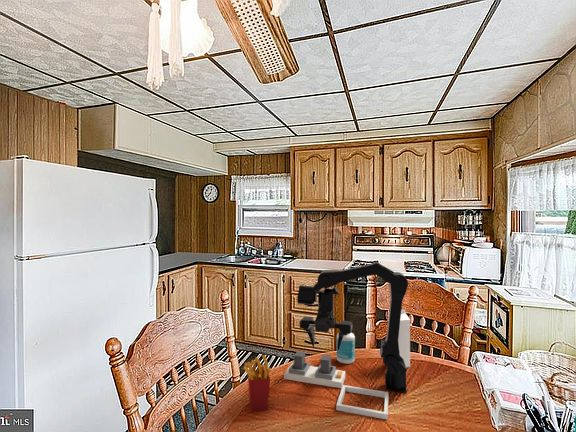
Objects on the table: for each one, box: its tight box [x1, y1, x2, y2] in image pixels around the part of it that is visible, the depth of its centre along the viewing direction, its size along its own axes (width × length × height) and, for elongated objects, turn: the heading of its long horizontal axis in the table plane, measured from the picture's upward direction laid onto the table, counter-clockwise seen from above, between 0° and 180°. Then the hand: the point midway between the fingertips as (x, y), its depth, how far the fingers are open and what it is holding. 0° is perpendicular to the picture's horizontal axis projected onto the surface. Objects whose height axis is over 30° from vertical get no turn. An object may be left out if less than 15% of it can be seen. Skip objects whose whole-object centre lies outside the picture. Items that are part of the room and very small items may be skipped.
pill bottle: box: [336, 332, 356, 365], centre depth 136 cm, size 8×7×14 cm
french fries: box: [243, 354, 272, 413], centre depth 103 cm, size 9×8×15 cm
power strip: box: [283, 361, 346, 389], centre depth 121 cm, size 21×9×4 cm, turn 72°
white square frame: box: [335, 384, 389, 420], centre depth 104 cm, size 15×13×2 cm
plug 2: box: [320, 354, 332, 374], centre depth 120 cm, size 3×4×6 cm, turn 162°
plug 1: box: [293, 350, 306, 370], centre depth 123 cm, size 3×4×6 cm, turn 162°
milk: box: [398, 309, 411, 369], centre depth 132 cm, size 6×6×22 cm
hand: (325, 348), depth 120 cm, fingers open, 9 cm apart
